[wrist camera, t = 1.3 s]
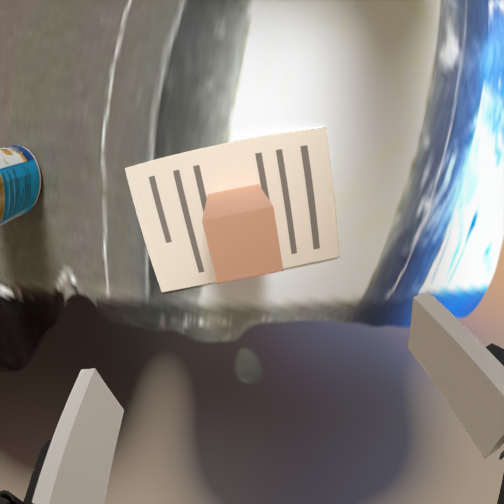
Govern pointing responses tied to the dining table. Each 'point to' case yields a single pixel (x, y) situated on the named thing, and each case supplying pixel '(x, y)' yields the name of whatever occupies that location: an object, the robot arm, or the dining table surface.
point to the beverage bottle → (17, 182)
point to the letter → (230, 177)
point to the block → (241, 233)
